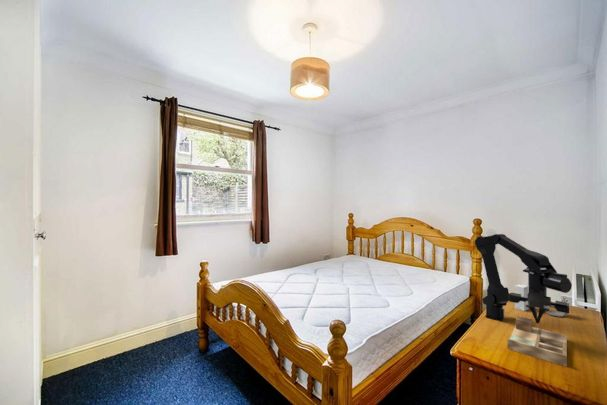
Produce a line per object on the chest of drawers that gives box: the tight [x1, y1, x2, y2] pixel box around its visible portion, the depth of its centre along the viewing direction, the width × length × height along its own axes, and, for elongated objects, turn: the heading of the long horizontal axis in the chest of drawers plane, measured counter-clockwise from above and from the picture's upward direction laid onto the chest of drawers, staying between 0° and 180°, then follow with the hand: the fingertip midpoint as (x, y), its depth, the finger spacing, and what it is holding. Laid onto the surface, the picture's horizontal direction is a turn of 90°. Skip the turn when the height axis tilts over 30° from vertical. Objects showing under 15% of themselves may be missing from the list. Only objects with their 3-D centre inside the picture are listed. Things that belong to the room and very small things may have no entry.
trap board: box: [507, 324, 568, 368], centre depth 104 cm, size 16×25×4 cm, turn 135°
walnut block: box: [515, 315, 533, 333], centre depth 113 cm, size 5×5×4 cm
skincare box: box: [514, 284, 530, 312], centre depth 141 cm, size 6×4×12 cm
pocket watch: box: [545, 295, 569, 318], centre depth 133 cm, size 8×8×10 cm
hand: (537, 322), depth 111 cm, fingers closed
